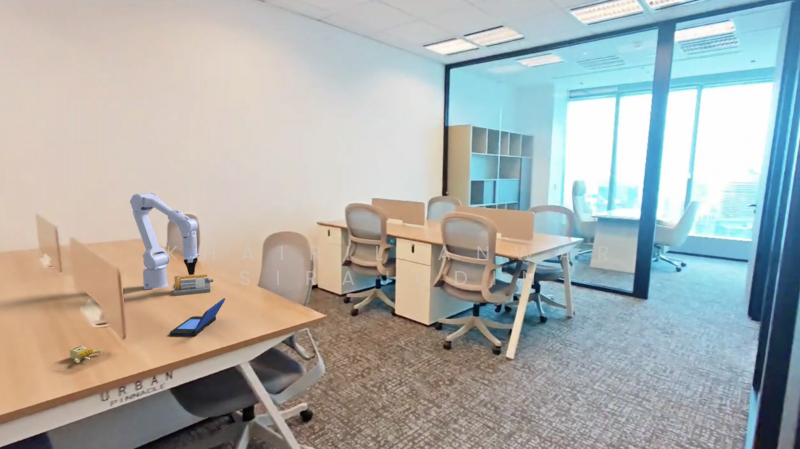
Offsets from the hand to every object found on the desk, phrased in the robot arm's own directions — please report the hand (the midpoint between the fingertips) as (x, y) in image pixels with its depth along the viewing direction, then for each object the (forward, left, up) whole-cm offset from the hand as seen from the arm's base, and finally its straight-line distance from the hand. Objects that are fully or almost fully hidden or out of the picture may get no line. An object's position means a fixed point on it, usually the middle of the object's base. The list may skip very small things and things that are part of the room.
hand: (191, 274), depth 189 cm
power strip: (0, -4, -7) cm, 8 cm away
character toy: (-28, -64, -8) cm, 70 cm away
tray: (0, +7, -7) cm, 10 cm away
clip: (0, -4, -5) cm, 7 cm away
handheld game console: (+3, -50, -8) cm, 51 cm away
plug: (+5, -4, -7) cm, 10 cm away
